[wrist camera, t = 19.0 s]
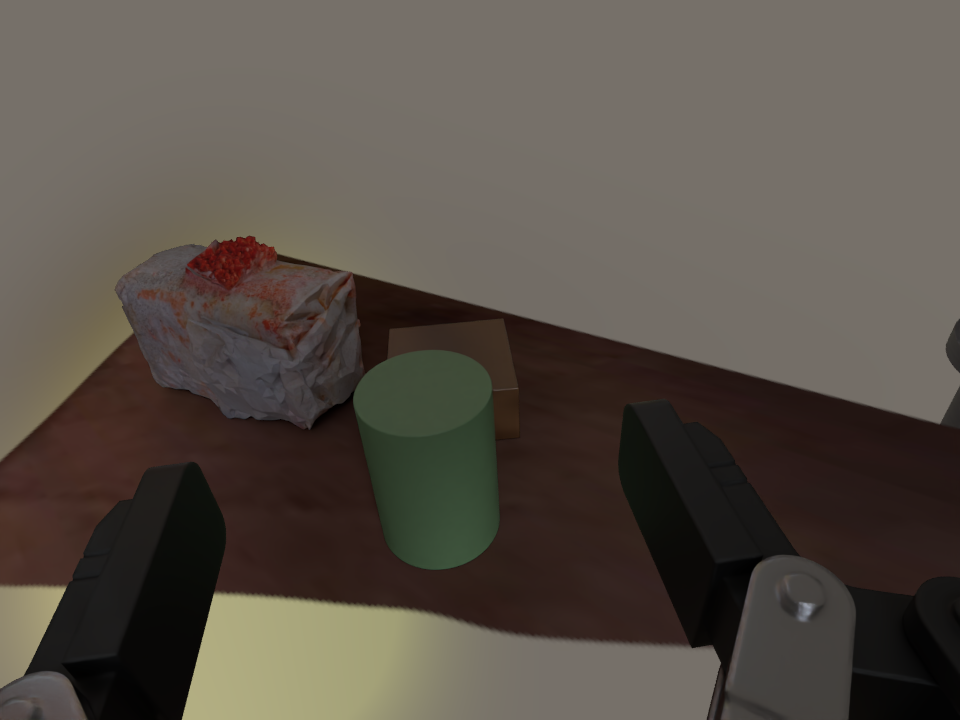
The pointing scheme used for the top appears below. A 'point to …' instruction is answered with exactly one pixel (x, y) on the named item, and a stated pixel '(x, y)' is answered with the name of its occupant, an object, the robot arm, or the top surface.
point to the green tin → (431, 455)
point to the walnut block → (482, 346)
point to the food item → (246, 329)
